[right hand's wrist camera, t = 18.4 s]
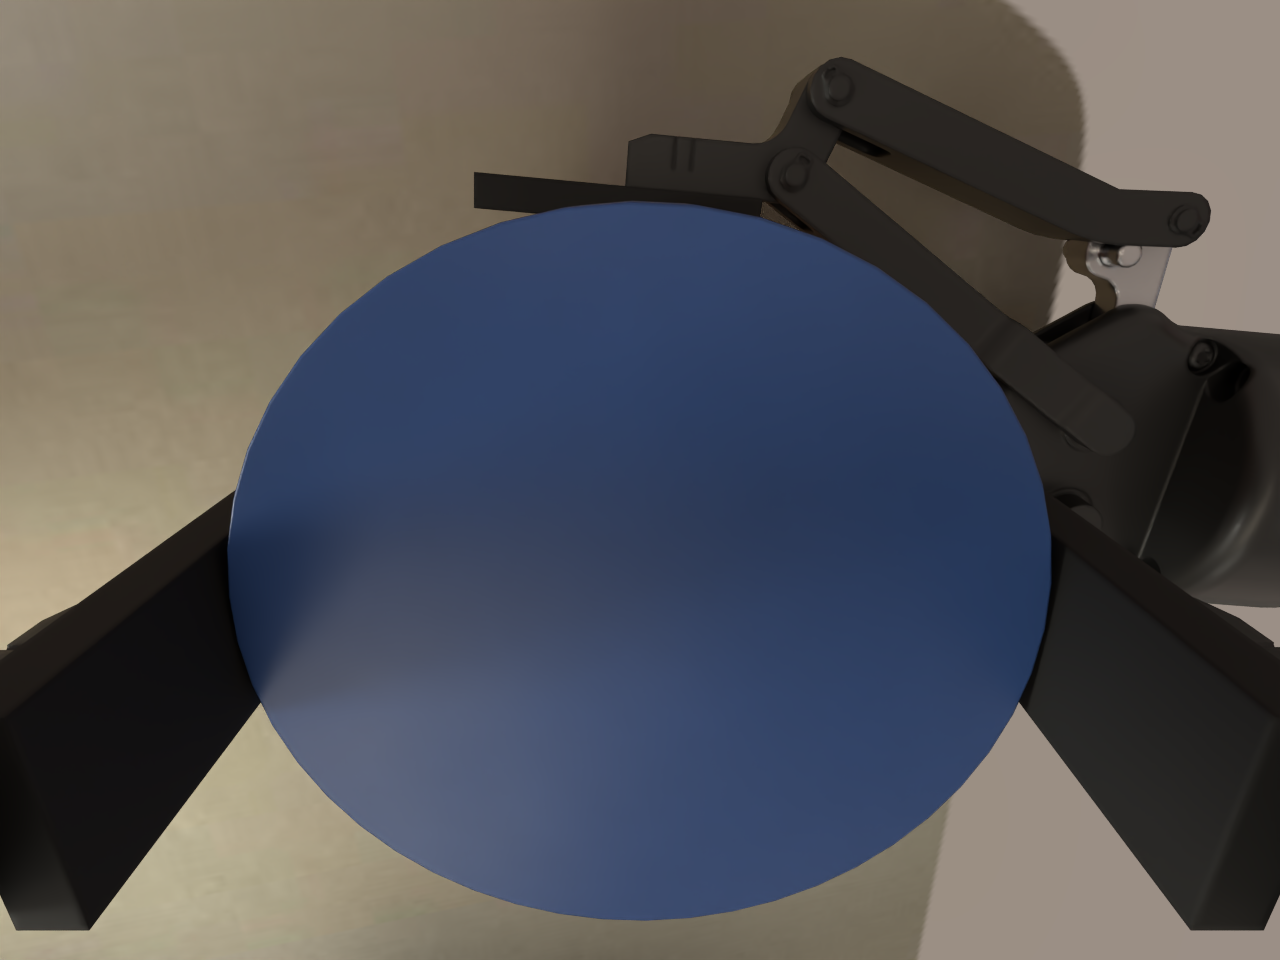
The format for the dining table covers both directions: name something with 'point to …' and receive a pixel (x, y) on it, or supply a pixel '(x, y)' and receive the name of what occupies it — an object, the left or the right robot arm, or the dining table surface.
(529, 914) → the dining table surface
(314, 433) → the lid
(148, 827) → the right robot arm
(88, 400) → the dining table surface
